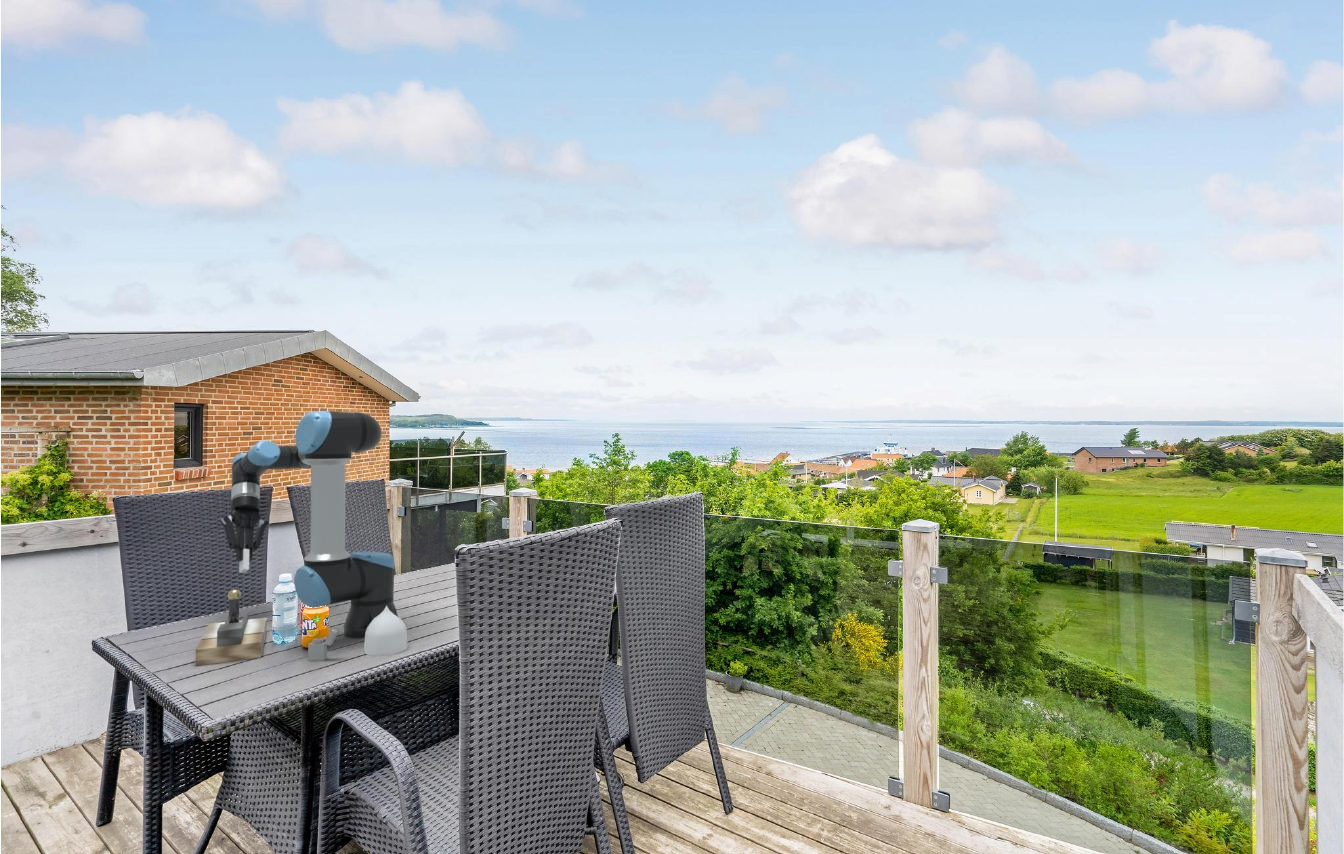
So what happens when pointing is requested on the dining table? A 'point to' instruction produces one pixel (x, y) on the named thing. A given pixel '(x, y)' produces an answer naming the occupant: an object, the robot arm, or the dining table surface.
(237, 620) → the bolt
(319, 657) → the lighter
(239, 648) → the door and jamb
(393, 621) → the teardrop
